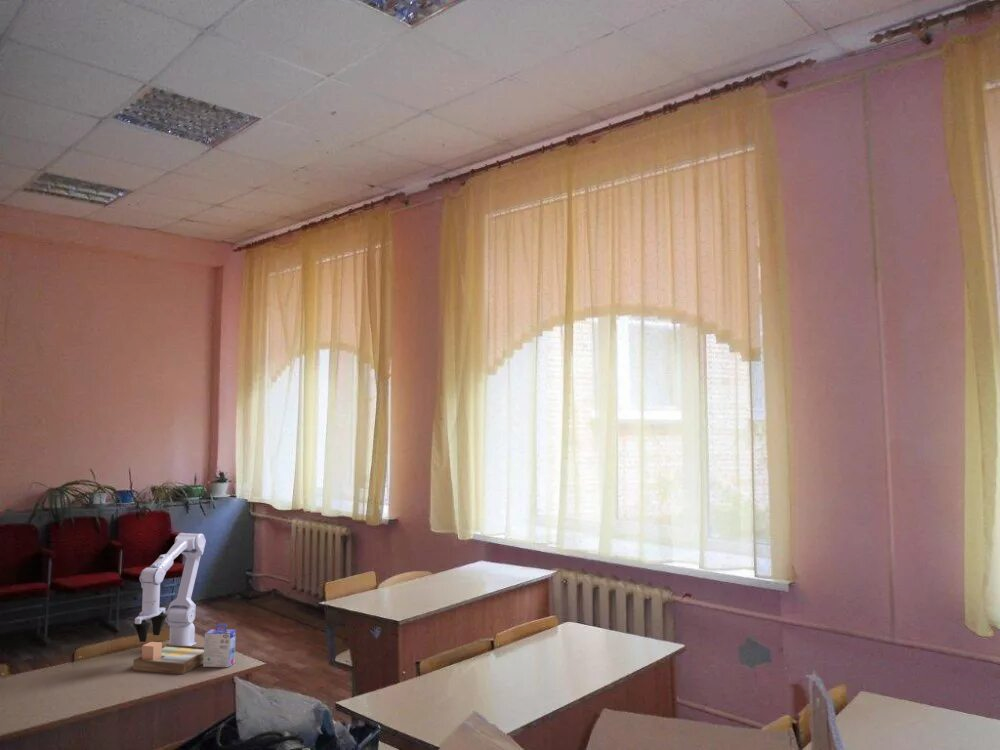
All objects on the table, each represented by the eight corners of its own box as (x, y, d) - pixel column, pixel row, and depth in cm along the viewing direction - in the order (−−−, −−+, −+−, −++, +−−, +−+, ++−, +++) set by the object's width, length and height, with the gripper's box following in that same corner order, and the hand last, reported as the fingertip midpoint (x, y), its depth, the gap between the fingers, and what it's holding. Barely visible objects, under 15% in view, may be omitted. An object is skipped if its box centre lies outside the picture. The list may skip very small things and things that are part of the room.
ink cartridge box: (235, 662, 259) (236, 622, 260) (229, 667, 254) (230, 627, 255) (209, 662, 260) (210, 622, 261) (202, 667, 254) (204, 626, 255)
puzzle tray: (165, 653, 268) (165, 644, 269) (212, 657, 265) (213, 647, 265) (133, 669, 251) (133, 659, 251) (183, 674, 247) (183, 664, 247)
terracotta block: (150, 661, 257) (150, 641, 257) (161, 662, 256) (161, 642, 257) (141, 665, 253) (142, 645, 253) (152, 666, 252) (153, 646, 252)
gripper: (154, 595, 266) (152, 631, 265) (127, 605, 252) (126, 643, 251) (170, 596, 265) (169, 632, 264) (145, 606, 250) (144, 645, 250)
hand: (149, 638), depth 257 cm, fingers open, 7 cm apart
